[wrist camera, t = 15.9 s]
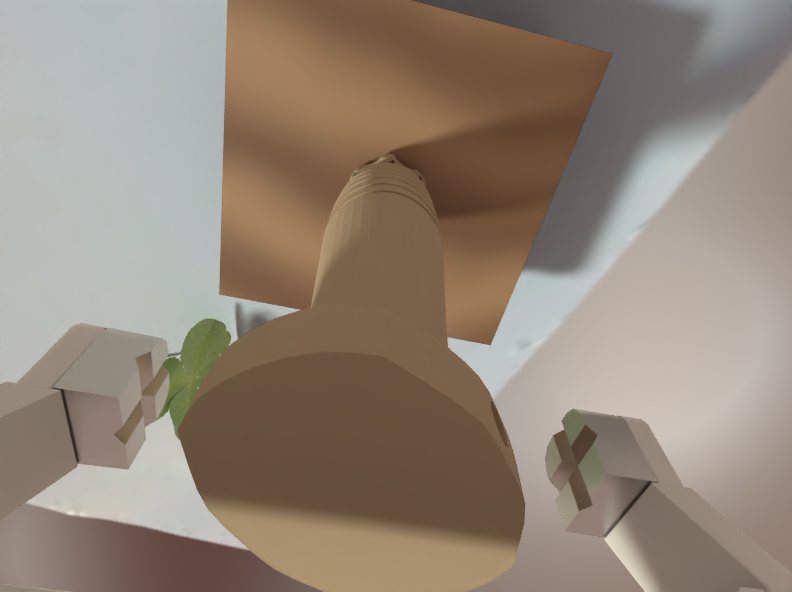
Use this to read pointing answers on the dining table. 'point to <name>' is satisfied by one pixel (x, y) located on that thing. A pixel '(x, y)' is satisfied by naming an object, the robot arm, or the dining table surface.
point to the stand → (393, 138)
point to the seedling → (193, 366)
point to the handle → (361, 417)
